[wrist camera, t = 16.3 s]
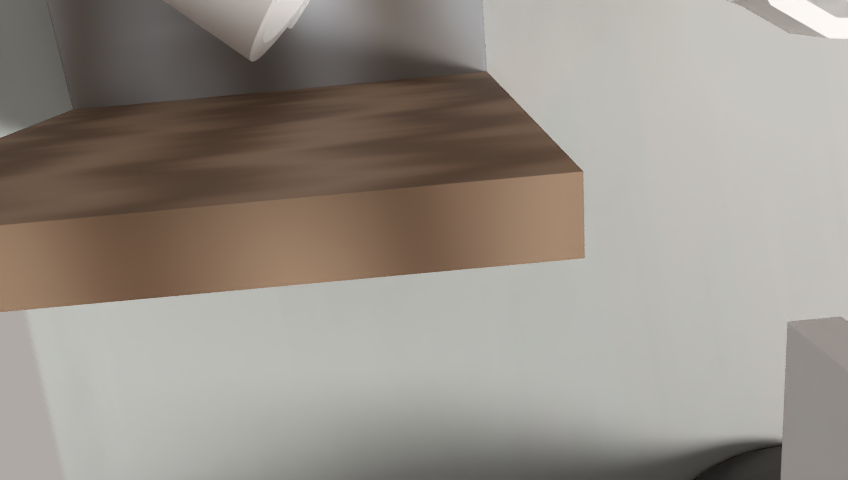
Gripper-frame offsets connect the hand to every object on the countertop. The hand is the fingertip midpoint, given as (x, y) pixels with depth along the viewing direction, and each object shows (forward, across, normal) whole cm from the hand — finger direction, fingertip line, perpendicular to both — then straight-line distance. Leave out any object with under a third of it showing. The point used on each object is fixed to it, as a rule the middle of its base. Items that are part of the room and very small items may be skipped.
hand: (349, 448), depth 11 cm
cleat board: (+26, +5, -8) cm, 27 cm away
